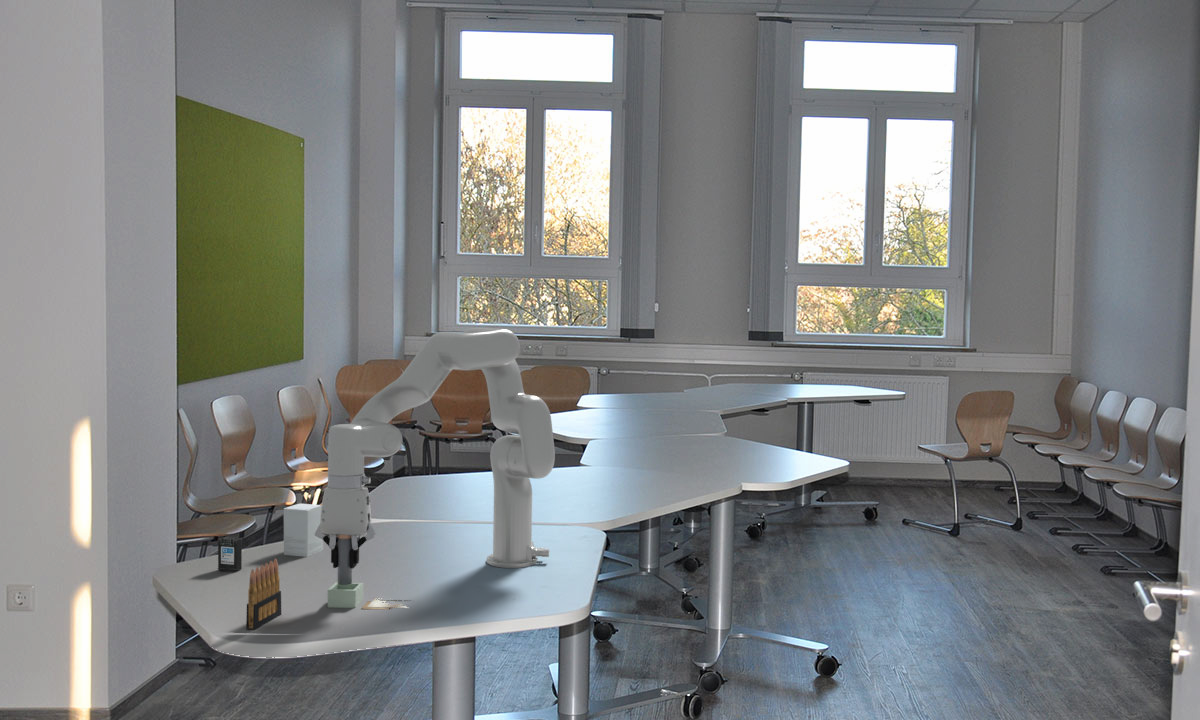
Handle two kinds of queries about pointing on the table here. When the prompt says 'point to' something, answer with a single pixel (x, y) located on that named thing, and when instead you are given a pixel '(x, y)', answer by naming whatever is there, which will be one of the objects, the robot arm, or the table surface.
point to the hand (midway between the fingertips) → (344, 565)
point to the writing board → (382, 604)
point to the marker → (344, 560)
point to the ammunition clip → (263, 596)
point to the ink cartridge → (230, 554)
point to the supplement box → (302, 530)
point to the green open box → (345, 595)
